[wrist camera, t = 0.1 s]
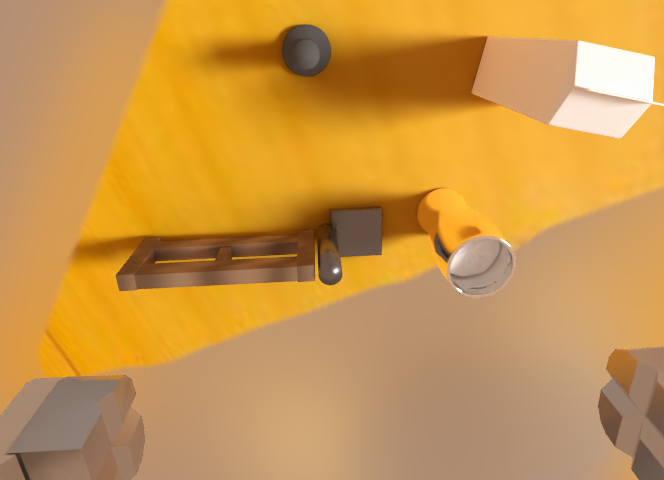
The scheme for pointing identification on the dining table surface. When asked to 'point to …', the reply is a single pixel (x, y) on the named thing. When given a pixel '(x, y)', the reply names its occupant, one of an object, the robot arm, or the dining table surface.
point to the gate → (219, 262)
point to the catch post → (306, 50)
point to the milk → (567, 82)
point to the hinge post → (348, 239)
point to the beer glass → (466, 245)
